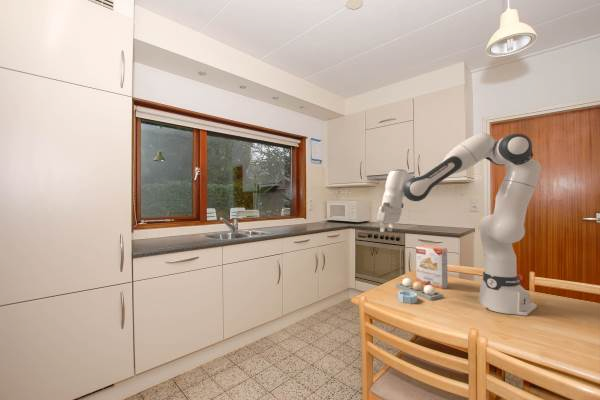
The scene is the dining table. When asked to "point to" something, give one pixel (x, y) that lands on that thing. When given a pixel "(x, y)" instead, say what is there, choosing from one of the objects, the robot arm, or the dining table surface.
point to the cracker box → (431, 266)
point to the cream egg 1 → (407, 282)
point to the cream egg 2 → (429, 290)
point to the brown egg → (418, 286)
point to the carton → (421, 293)
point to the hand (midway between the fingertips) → (385, 231)
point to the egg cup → (407, 297)
